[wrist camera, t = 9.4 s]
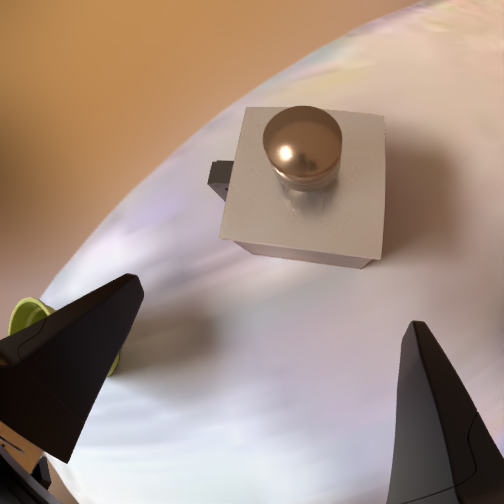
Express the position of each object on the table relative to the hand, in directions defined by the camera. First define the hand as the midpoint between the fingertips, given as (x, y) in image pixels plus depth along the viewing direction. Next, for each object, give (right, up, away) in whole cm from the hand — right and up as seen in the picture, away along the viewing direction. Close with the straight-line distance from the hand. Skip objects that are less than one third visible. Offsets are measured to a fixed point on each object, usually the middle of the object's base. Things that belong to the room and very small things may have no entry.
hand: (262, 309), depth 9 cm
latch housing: (+4, +5, +14) cm, 15 cm away
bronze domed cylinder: (+4, +5, +12) cm, 14 cm away
